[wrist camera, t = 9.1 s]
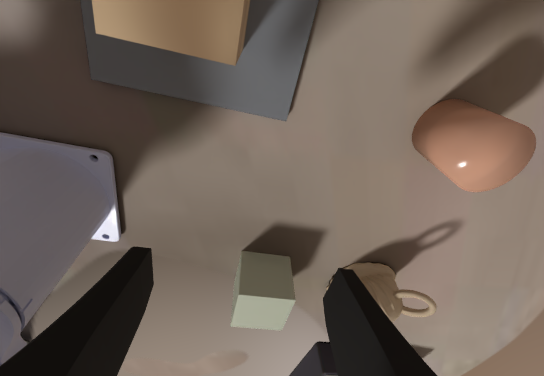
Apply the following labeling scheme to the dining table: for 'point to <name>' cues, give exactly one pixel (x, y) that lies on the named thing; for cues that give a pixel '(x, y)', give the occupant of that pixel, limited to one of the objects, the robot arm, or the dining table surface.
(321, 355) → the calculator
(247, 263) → the sage block
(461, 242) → the dining table surface
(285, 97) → the slate mat
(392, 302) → the cream ribbed piece
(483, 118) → the terracotta cylinder
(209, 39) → the oak block
